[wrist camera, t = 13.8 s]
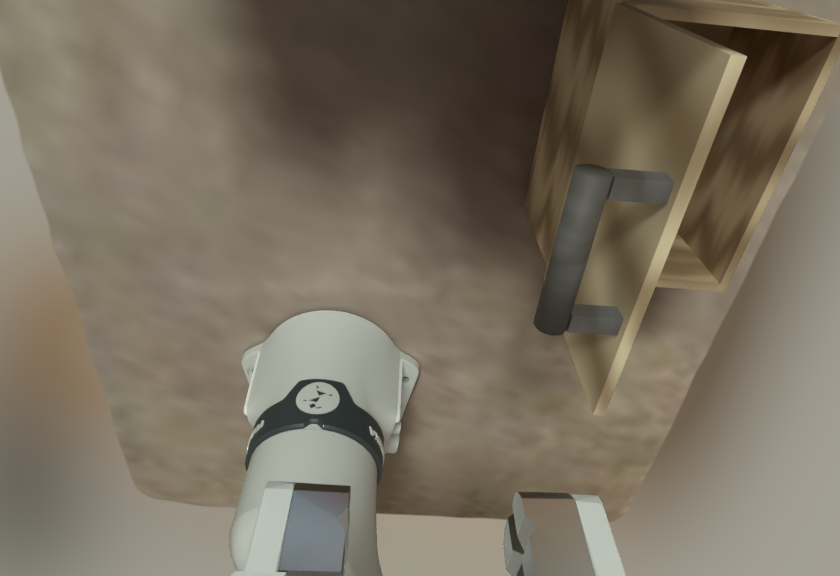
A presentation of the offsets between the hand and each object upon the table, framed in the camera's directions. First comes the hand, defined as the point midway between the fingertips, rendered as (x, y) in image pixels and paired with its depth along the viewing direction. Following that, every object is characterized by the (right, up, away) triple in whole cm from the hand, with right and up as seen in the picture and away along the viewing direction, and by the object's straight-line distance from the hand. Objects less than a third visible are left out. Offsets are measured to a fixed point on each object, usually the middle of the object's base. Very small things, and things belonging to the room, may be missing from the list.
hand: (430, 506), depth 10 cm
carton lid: (+10, +8, +19) cm, 23 cm away
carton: (+16, +18, +35) cm, 43 cm away
